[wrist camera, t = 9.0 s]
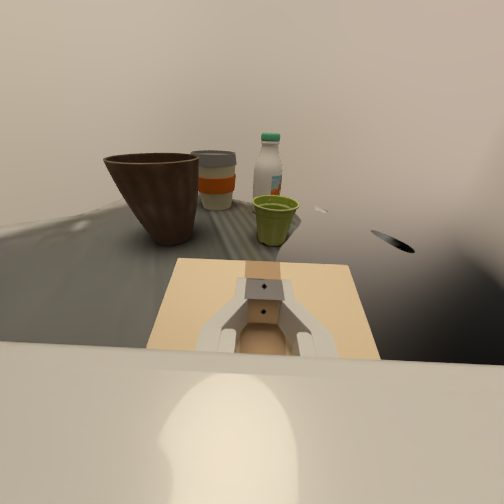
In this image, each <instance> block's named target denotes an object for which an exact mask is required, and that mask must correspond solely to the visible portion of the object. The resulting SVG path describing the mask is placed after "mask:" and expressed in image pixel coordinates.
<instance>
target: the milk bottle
mask: <svg viewBox="0 0 504 504" xmlns="http://www.w3.org/2000/svg"><path fill="white" fill-rule="evenodd" d="M261 140H262V141H261V143H262V148H261V152H260V155H259V157H258V159H257V162H256V165H255V169H254V184H253V198H255V197H258V196H262V195H279V196H280V190H281V180H282V164H281V160H280V157H279V152H278V144H279V140H280V134H277V133H262V135H261ZM253 211H254V213H256V212H255V210H254V205H253Z"/></svg>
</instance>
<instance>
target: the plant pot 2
mask: <svg viewBox="0 0 504 504" xmlns="http://www.w3.org/2000/svg"><path fill="white" fill-rule="evenodd" d="M252 204H253V205H254V210H255V212H256V222H257V234H258V240H259V241H260V242H261V243H265V244H266V245H269V246H278V245H281V244H282V243H283V242H285V239H286V236H287V233H288V230H289V227H290V224H291V221H292V217H293V215H294V214H295V212H296V209H298V208H299V203H298V202H297V201H296V200H294V199H291V198H289V197H285V196H279V195H262V196H258V197H255V198H253V200H252Z"/></svg>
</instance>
